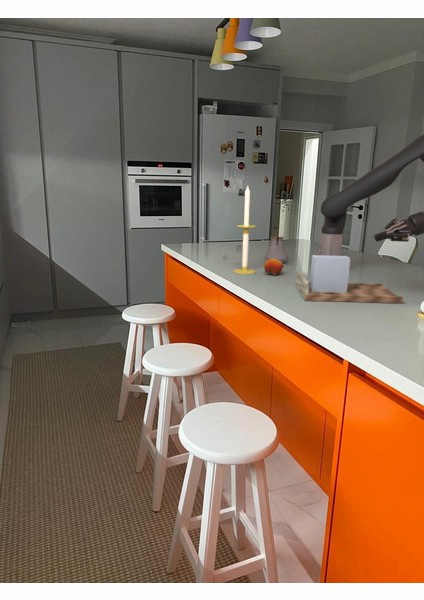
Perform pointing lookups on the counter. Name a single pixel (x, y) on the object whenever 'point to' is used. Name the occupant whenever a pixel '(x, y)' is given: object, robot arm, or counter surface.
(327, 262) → the block
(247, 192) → the candle
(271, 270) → the fruit
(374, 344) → the counter surface
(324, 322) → the counter surface
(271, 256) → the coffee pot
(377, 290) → the lane
